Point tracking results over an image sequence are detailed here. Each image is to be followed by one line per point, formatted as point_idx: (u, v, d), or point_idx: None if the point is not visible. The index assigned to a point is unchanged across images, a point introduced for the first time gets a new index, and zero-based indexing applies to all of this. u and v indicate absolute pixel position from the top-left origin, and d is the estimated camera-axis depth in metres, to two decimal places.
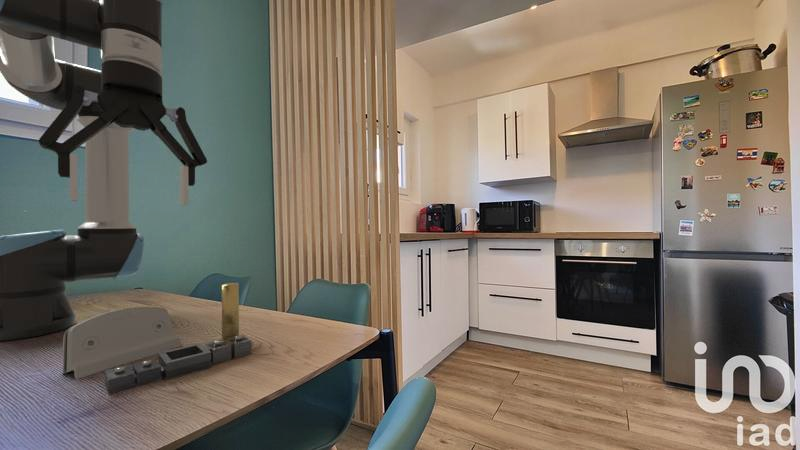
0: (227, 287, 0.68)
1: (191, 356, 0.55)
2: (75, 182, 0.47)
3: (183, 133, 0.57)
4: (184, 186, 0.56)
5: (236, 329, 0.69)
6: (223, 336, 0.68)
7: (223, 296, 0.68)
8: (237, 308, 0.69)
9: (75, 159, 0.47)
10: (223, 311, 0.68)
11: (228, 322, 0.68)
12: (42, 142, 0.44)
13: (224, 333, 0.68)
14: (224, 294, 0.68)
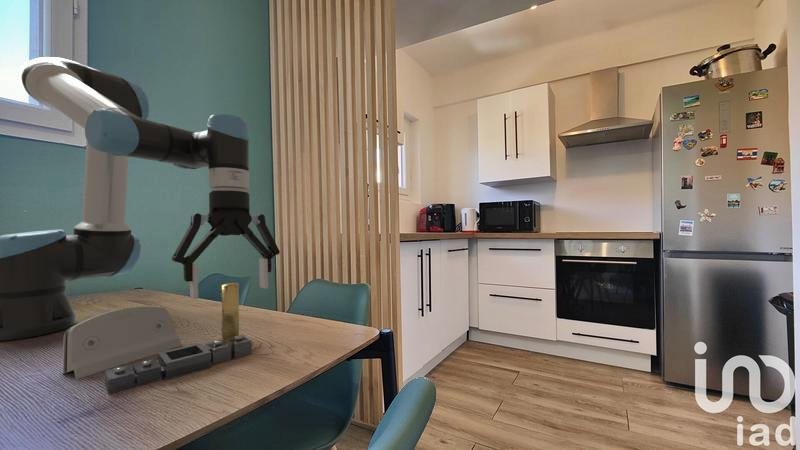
0: (227, 287, 0.68)
1: (191, 356, 0.55)
2: (196, 285, 0.63)
3: (263, 233, 0.73)
4: (265, 274, 0.73)
5: (236, 329, 0.69)
6: (223, 336, 0.68)
7: (223, 296, 0.68)
8: (237, 308, 0.69)
9: (196, 268, 0.63)
10: (223, 311, 0.68)
11: (228, 322, 0.68)
12: (177, 260, 0.61)
13: (224, 333, 0.68)
14: (224, 294, 0.68)
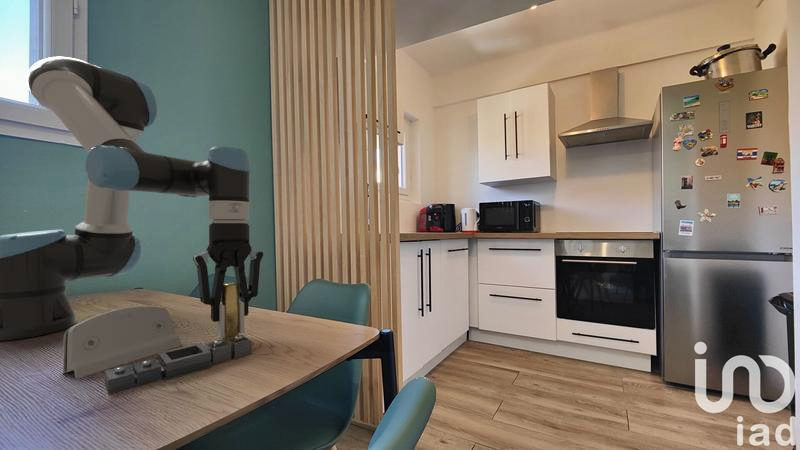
0: (227, 287, 0.68)
1: (191, 356, 0.55)
2: (223, 325, 0.67)
3: (252, 270, 0.72)
4: (241, 319, 0.69)
5: (236, 329, 0.69)
6: None
7: (223, 296, 0.68)
8: (237, 308, 0.69)
9: (223, 309, 0.67)
10: None
11: (228, 321, 0.68)
12: (206, 303, 0.65)
13: None
14: (224, 294, 0.68)
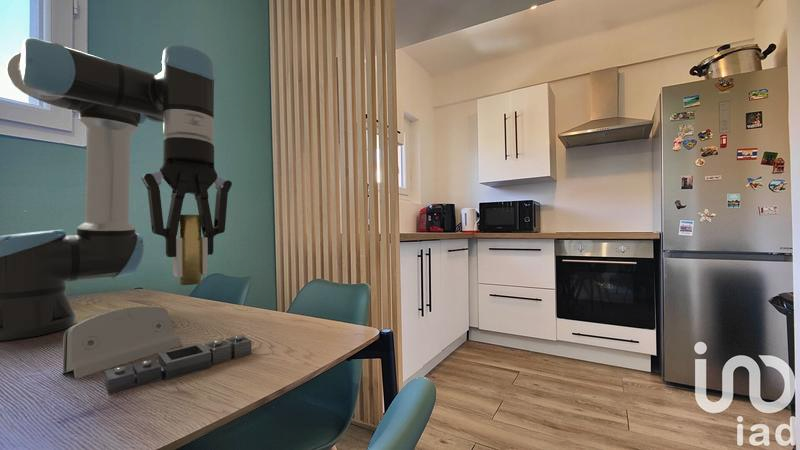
0: (186, 216, 0.56)
1: (191, 356, 0.55)
2: (180, 261, 0.56)
3: (218, 201, 0.61)
4: (203, 257, 0.58)
5: (197, 268, 0.57)
6: None
7: (181, 227, 0.56)
8: (199, 243, 0.58)
9: (180, 242, 0.56)
10: None
11: (187, 258, 0.56)
12: (158, 232, 0.53)
13: (182, 272, 0.56)
14: (182, 225, 0.56)
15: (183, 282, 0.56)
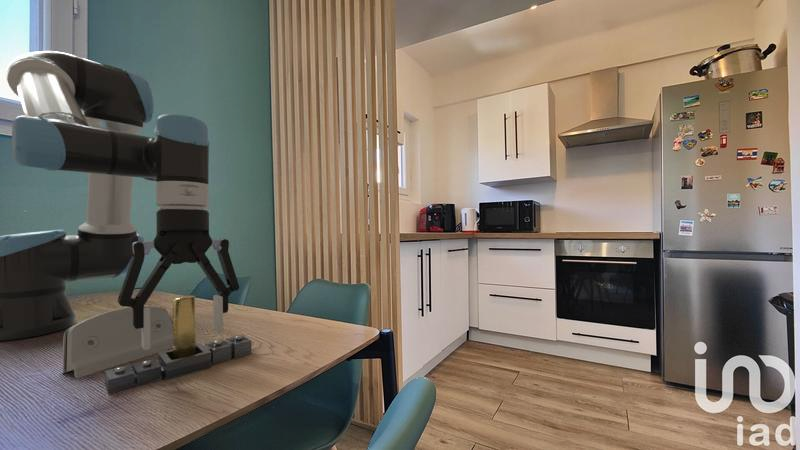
0: (179, 301, 0.55)
1: (191, 356, 0.55)
2: (148, 333, 0.52)
3: (223, 262, 0.60)
4: (219, 316, 0.59)
5: (191, 353, 0.56)
6: None
7: (174, 313, 0.55)
8: (193, 327, 0.56)
9: (148, 312, 0.52)
10: (174, 331, 0.55)
11: (181, 344, 0.55)
12: (122, 304, 0.50)
13: None
14: (176, 310, 0.55)
15: None
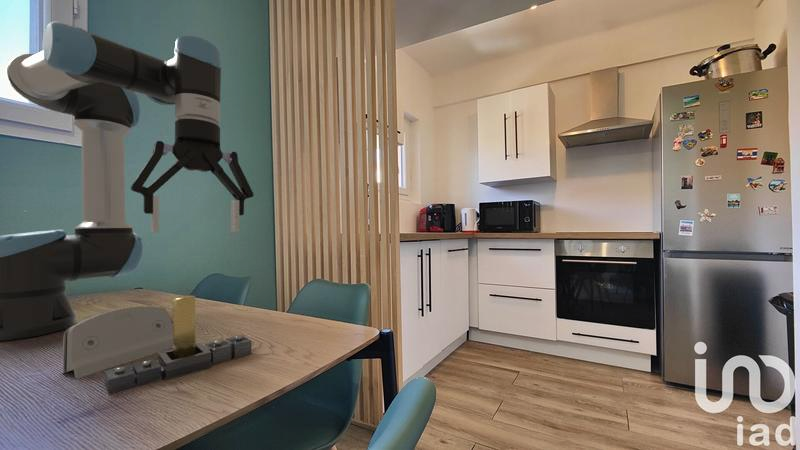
0: (179, 301, 0.55)
1: (191, 356, 0.55)
2: (157, 218, 0.59)
3: (235, 172, 0.68)
4: (236, 217, 0.68)
5: (191, 353, 0.56)
6: None
7: (174, 313, 0.55)
8: (193, 327, 0.56)
9: (157, 200, 0.59)
10: (174, 331, 0.55)
11: (181, 344, 0.55)
12: (134, 188, 0.57)
13: None
14: (175, 310, 0.55)
15: None
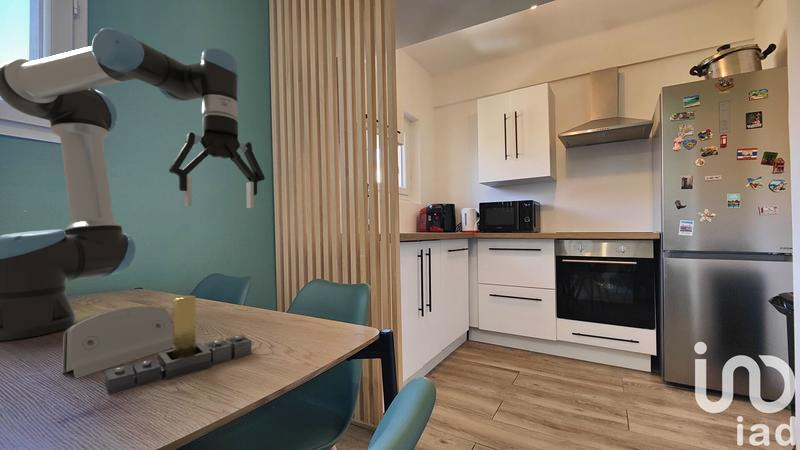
0: (180, 302, 0.55)
1: (191, 356, 0.55)
2: (190, 194, 0.73)
3: (250, 159, 0.83)
4: (251, 195, 0.83)
5: (191, 353, 0.56)
6: None
7: (175, 313, 0.55)
8: (193, 327, 0.56)
9: (190, 179, 0.73)
10: (174, 331, 0.55)
11: (181, 344, 0.55)
12: (173, 169, 0.71)
13: None
14: (176, 310, 0.55)
15: None
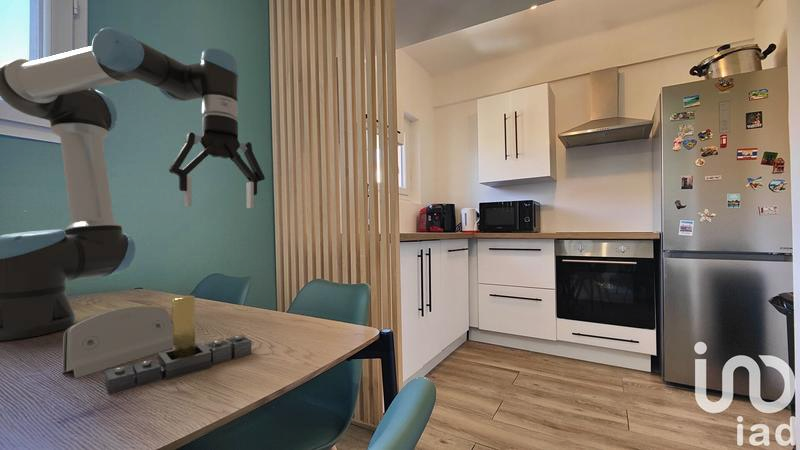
0: (179, 302, 0.55)
1: (191, 356, 0.55)
2: (190, 194, 0.73)
3: (250, 159, 0.83)
4: (251, 195, 0.83)
5: (191, 353, 0.56)
6: None
7: (174, 313, 0.55)
8: (192, 327, 0.56)
9: (190, 179, 0.73)
10: (174, 331, 0.55)
11: (180, 344, 0.55)
12: (173, 169, 0.71)
13: None
14: (175, 310, 0.55)
15: None
